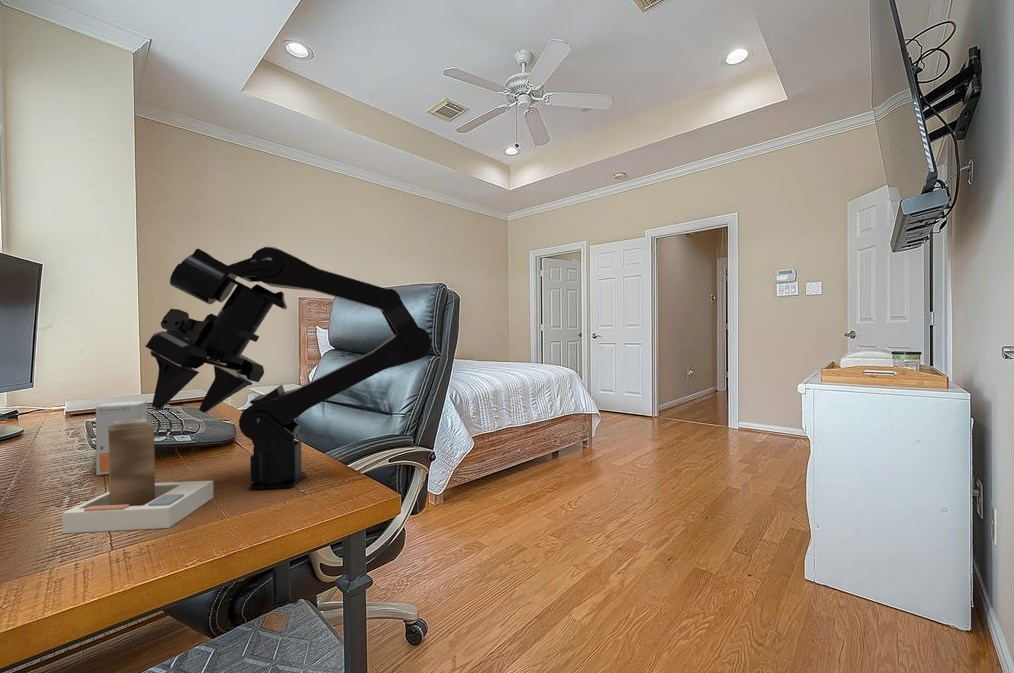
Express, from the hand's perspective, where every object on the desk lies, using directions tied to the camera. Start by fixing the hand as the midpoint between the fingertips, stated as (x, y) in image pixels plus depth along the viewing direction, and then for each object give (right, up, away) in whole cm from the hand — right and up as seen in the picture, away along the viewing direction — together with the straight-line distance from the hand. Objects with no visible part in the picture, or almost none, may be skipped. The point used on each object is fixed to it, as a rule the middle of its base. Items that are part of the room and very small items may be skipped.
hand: (180, 409), depth 65 cm
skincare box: (-19, -13, +12) cm, 26 cm away
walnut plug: (-1, -13, -7) cm, 15 cm away
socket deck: (0, -13, -7) cm, 15 cm away
